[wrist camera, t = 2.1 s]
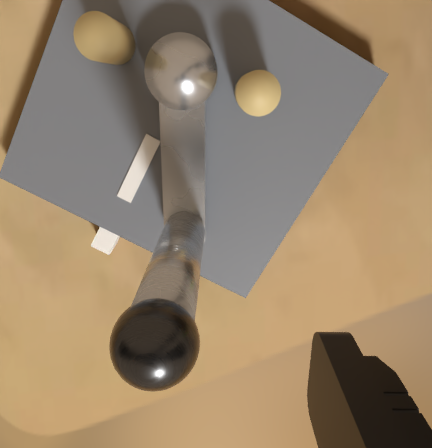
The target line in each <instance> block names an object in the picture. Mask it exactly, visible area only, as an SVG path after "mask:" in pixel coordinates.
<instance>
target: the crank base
mask: <svg viewBox="0 0 432 448" xmlns="http://www.w3.org/2000/svg"><path fill="white" fill-rule="evenodd" d="M175 32H184V33H189V34H192V35H195V36H196V37H198V38H200V39H201V40H203V41H204V42H205V43H206V44H207V45H208V47H209V48H210V49H211V51H212V53H213V55H214V57H215V60H216V63H217V69H218V77H217V83H216V86H215V88H214V91H213V92H212V94H211V95H210V97H209V98H208V99H207V100H206V238H205V242H204V246H203V254H202V262H201V271H200V276H202V277H204V278H206V279H208V280H210V281H212V282H214V283H216V284H218V285H220V286H222V287H224V288H226V289H228V290H230V291H232V292H234V293H236V294H238V295H240V296H243V297H245V298H246V296H247V295H248V293H249V292H250V290H251V289H252V287H253V286H254V284H255V282H256V281H257V279H258V278H259V276H260V275H261V273H262V271H263V270H264V268H265V267H266V265H267V264H268V262H269V261H270V259H271V257H272V256H273V254H274V253H275V251H276V250H277V248H278V246H279V245H280V243H281V242H282V240H283V239H284V237H285V236H286V234H287V232H288V231H289V229H290V228H291V226H292V225H293V223H294V221H295V220H296V218H297V217H298V215H299V214H300V212H301V211H302V209H303V207H304V206H305V204H306V203H307V201H308V200H309V198H310V196H311V195H312V193H313V192H314V190H315V189H316V187H317V185H318V184H319V182H320V181H321V179H322V178H323V176H324V175H325V173H326V171H327V170H328V168H329V167H330V165H331V164H332V162H333V160H334V159H335V157H336V156H337V154H338V153H339V151H340V150H341V148H342V146H343V145H344V143H345V142H346V140H347V139H348V137H349V135H350V134H351V132H352V131H353V129H354V128H355V126H356V125H357V123H358V121H359V120H360V118H361V117H362V115H363V114H364V112H365V110H366V109H367V107H368V106H369V104H370V103H371V101H372V100H373V98H374V96H375V95H376V93H377V92H378V90H379V89H380V87H381V85H382V84H383V82H384V81H385V79H386V78H387V76H388V73H386V72H384V71H383V70H381V69H380V68H378V67H376V66H375V65H373V64H371V63H370V62H368V61H367V60H365V59H363V58H362V57H360V56H358V55H357V54H355V53H354V52H352V51H350V50H349V49H347V48H345V47H344V46H342V45H341V44H339V43H337V42H336V41H334V40H332V39H331V38H329V37H328V36H326V35H324V34H323V33H321V32H320V31H318V30H316V29H315V28H313V27H311V26H310V25H308V24H307V23H305V22H303V21H302V20H300V19H298V18H297V17H295V16H294V15H292V14H290V13H289V12H287V11H285V10H284V9H282V8H281V7H279V6H277V5H276V4H274V3H273V2H271V1H269V0H63V1H62V3H61V6H60V9H59V12H58V14H57V17H56V20H55V23H54V25H53V28H52V31H51V34H50V36H49V39H48V42H47V45H46V47H45V50H44V53H43V56H42V58H41V61H40V64H39V67H38V69H37V72H36V75H35V78H34V81H33V83H32V86H31V89H30V92H29V94H28V97H27V100H26V103H25V105H24V108H23V111H22V114H21V116H20V119H19V122H18V125H17V127H16V130H15V133H14V136H13V138H12V141H11V144H10V147H9V149H8V152H7V155H6V158H5V160H4V163H3V166H2V169H1V171H0V178H1V179H4V180H6V181H8V182H10V183H12V184H14V185H16V186H18V187H20V188H22V189H24V190H26V191H28V192H30V193H32V194H34V195H36V196H38V197H40V198H42V199H44V200H46V201H48V202H51V203H53V204H55V205H57V206H59V207H61V208H63V209H65V210H67V211H69V212H71V213H73V214H75V215H77V216H79V217H81V218H83V219H85V220H87V221H89V222H91V223H93V224H95V225H97V226H100V227H99V230H98V232H97V234H96V236H95V238H94V240H93V242H92V244H91V247H94V248H96V249H98V250H100V251H102V252H104V253H106V254H108V255H110V253H111V252H112V250H113V249H114V247H115V246H116V244H117V242H118V240H119V238H120V237H122V238H124V239H126V240H128V241H130V242H132V243H134V244H136V245H138V246H140V247H142V248H144V249H147V250H149V251H151V252H154V250H155V247H156V245H157V242H158V240H159V237H160V235H161V233H162V230H163V228H164V216H163V191H162V166H161V141H160V115H159V101H158V100H156V99H155V97H154V96H153V95H152V93H151V92H150V90H149V88H148V86H147V83H146V80H145V73H144V67H145V61H146V57H147V55H148V52H149V50H150V49H151V47H152V46H153V45H154V43H155V42H156V41H158V40H159V39H160V38H162V37H163V36H165V35H168V34H170V33H175Z"/></svg>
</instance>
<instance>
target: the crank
mask: <svg viewBox="0 0 432 448" xmlns="http://www.w3.org/2000/svg"><path fill="white" fill-rule="evenodd" d="M144 73H145V80H146V83H147V86H148V88H149V90H150V92H151V93H152V95H153V96H154V97H155V99H156V100H158V101H159V115H160V141H161V166H162V191H163V216H164V228H163V230H162V233H161V235H160V237H159V240H158V242H157V245H156V247H155V250H154V252H153V254H152V257H151V259H150V262H149V264H148V267H147V269H146V271H145V274H144V276H143V279H142V281H141V284H140V286H139V288H138V291H137V293H136V296H135V298H134V301H133V303H132V305H131V307H129V308H128V309H127V310H126V311H125V312H124V313H123V314H122V315H121V316H120V317H119V319H118V320H117V322H116V323H115V326H114V328H113V330H112V334H111V337H110V356H111V360H112V363H113V366H114V368H115V370H116V371H117V373H118V374H119V375H120V377H121V378H122V379H123V380H124V381H126V382H127V383H128V384H130V385H131V386H133V387H135V388H138V389H141V390H145V391H161V390H165V389H168V388H171V387H173V386H174V385H176V384H178V383H179V382H181V381H182V380H183V379H184V378H185V377H186V376H187V375H188V374H189V373H190V371H191V370H192V368H193V366H194V365H195V362H196V360H197V357H198V353H199V347H200V339H199V333H198V329H197V326H196V323H195V313H196V305H197V296H198V288H199V279H200V271H201V262H202V254H203V246H204V242H205V238H206V100H207V99H208V98H209V97H210V95H211V94H212V92H213V91H214V88H215V86H216V83H217V77H218V69H217V63H216V60H215V57H214V55H213V53H212V51H211V49H210V48H209V47H208V45H207V44H206V43H205V42H204V41H203V40H201V39H200V38H198V37H196V36H195V35H192V34H189V33H184V32H175V33H170V34H168V35H165V36H163V37H162V38H160V39H159V40H158V41H156V42H155V43H154V45H153V46H152V47H151V49H150V50H149V52H148V55H147V57H146V61H145V67H144Z"/></svg>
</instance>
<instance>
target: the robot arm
mask: <svg viewBox="0 0 432 448" xmlns="http://www.w3.org/2000/svg"><path fill="white" fill-rule="evenodd" d="M307 397H308V408H309V415H310V420H311V423H312V426H313V430H314V434H315V437H316V441H317V445H318V448H432V429H431V428H430V426H429V425H428V423H427V422H426V420H425V418H424V417H423V415H422V414H421V413H419V409H418V407H417V406H416V404H415V403H414V401H413V399H412V398H411V396H409V395H408V392H407V390H406V388H405V386H404V385H403V383H402V382H401V380H400V378H399V377H398V375H397V374H396V372H394V371H393V370H392V369H391V368H390V367H389V366H387V365H386V364H385V363H384V362H382V361H381V360H380V359H379V358H378V357H376V356H363V354H362V353H361V351H360V349H359V347H358V346H357V343H356V342H355V340H354V338H353V336H352V335H351V334H350V333H348V332H315V334H314V336H313V341H312V351H311V360H310V370H309V380H308V393H307Z"/></svg>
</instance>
